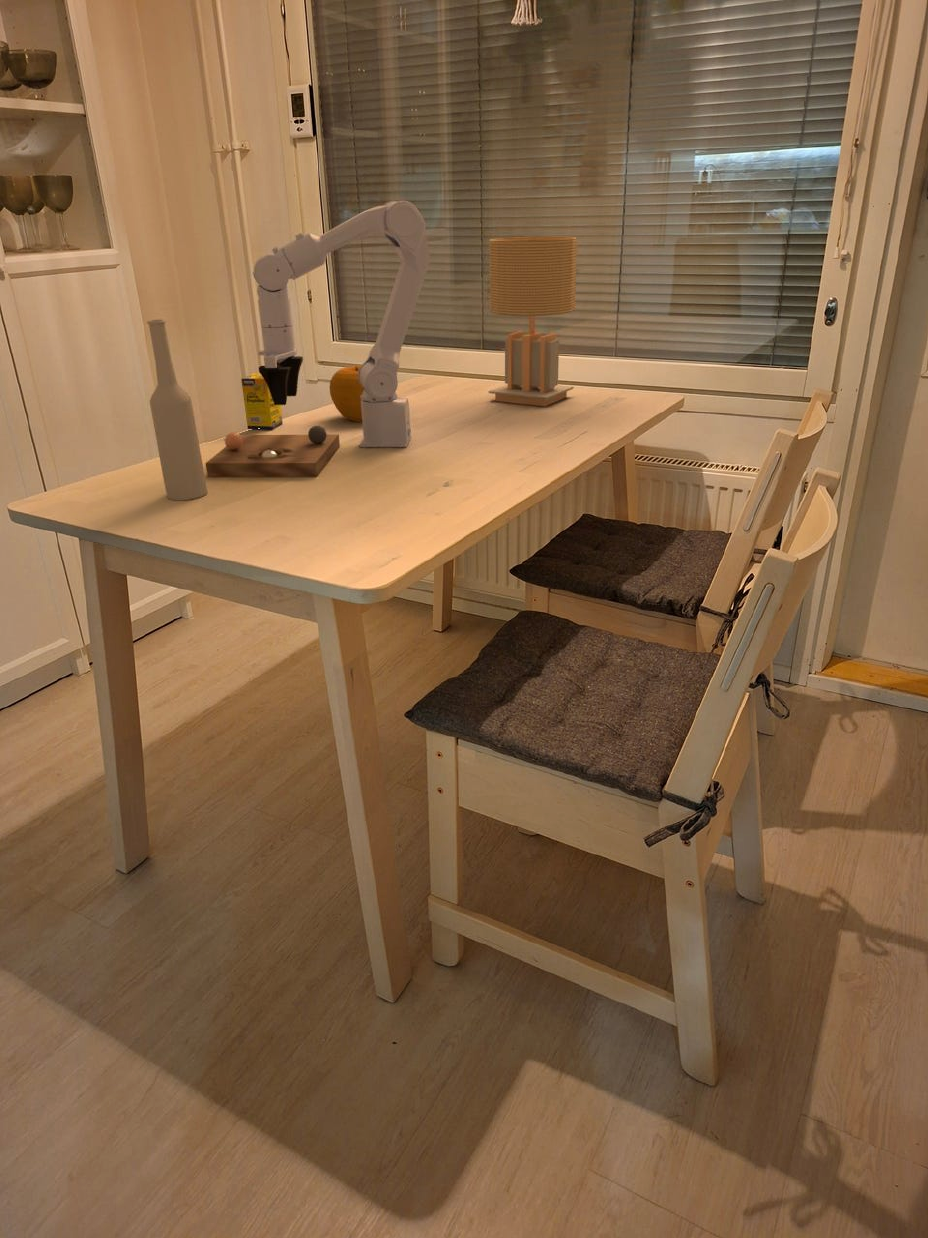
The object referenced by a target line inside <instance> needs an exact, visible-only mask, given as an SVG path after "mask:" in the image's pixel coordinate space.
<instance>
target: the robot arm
mask: <svg viewBox="0 0 928 1238" xmlns="http://www.w3.org/2000/svg"><path fill="white" fill-rule="evenodd" d="M368 235H371V236H385V237H386V238H387V239H388V240H389V242H390V243H392V244H393V247H394V249H395V251H396V253H397V255H398V257H399V258H400V265H399V269H398V272H397V275H396V278H395V281H394V284H393V287H392V290H391V293H390V297H389V301H388V302H387V306H386V308H385V313H384V316H383V318H382V321H381V324H380V327H379V331H378V334H377V337H376V341H375V344H374V345H373V346H372V347H371V350H370V351H369V353H368V357H367V358H366V360H365V361H364V362H363V363H362V364H361V365H360V366H361V367H360V369H359V372H358V379H359V382H360V384H361V385H362V387H363V388H364V391H363V393H362V395H361V396H360V398H361V411H362V422H361V423H362V435H363V437H362V439H361V440H360V442H359V444H358V446H359V447H360V448H402V447H403V448H406V447H407V446H408V444H409V442H410V440H411V438H412V435H411V434H412V433H411V419H410V416H411V415H410V403H409V400H408V398H405V397H398V394H397V392H396V391H397V390H398V384H399V383H398V382H399V381H398V371H399V367H400V353H401V350H402V347H403V344H404V342H405V338H406V335H407V332H408V329H409V326H410V323H411V320H412V317H413V314H414V311H415V309H416V305H417V302H418V299H419V296H420V293H421V290H422V287H423V284H424V280H425V277H426V275H427V272H428V268H429V266H430V261H431V255H430V251H429V245H428V238H427V233H426V222H425V220H424V218H423V217H422V214H421V213H420V211H419V210H418V208H417V207H416V206H415V205H414V203H412V202H410V201H407V200H400V201H397V200H392V201H388V202H386V203H384V204H383V205H378V206H374V207H372V208H369V209H367V210H364V211H362V212H360V213H358V214H356V215H354V216H353V217H351V218H349V219H347V220H346V221H344V222H342V223H339V224H338V225H337V226H335V227H333V228H331V229H330V230H329V231H327V232H325V233H323V234H321V235H319V236H318V235H315V234H313V233H311V232H307V233H306V234H303V233H302V232H300V233H298V234H295V236H294V237H295V239H294V240H292V241H290V242H288V243H287V244H285V245H283V246H281V247H277V246H275V247H273V248H271V251H272V253H273V254H264V255H262V256H260V257H259V258H258V259H257V260H256V261H255V263H254V266H253V271H252V275H253V279H255V281H256V282H257V284H258V285H257V289H256V293H257V296H258V299H257V304H258V305H257V306H258V312H259V320H260V327H261V335H262V343H263V349H260V350H258V351H257V355H258V356H263V362H264V365H260V366H259V367H258V373H260V374H261V375H262V377H263V378H264V380H265V382H266V384H267V386H268V388H269V391H270V394H271V397H272V399H273V402H274V404H275V405H281V406H285V405H287V401H288V397H296V396H297V394H298V383H299V382H298V381H299V374H300V370H301V366H302V364H303V360H304V357H303V356H297V354H298V352H297V348H296V342H295V335H294V333H295V332H294V326H293V325H294V324H293V318H292V317H293V316H292V306H291V299H290V298H289V291H288V283H289V280H296V279H299V278H300V277H302V276H304V275H306V274H309V273H310V272H312V271H314V270H316V269H317V268H320V267H322V266H323V265H325V263H326V259H327V256H328V254H330V253H332V252H333V251H336V250H337V249H340V248H342V247H344V246H346V245H348V244H350V243H353V242H354V241H357V240H359V239H361V238H362V237H366V236H368Z"/></svg>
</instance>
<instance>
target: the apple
mask: <svg viewBox="0 0 928 1238" xmlns="http://www.w3.org/2000/svg"><path fill="white" fill-rule="evenodd" d="M360 367H361V365H354V366H347V367H343V368H340V369H338V370H337V371H336V372H335V373H334V374H333V376H332V377H331V379H330V382H329V396H330V397H331V401H332V403H333V404H334V406H335V408H336V409H337V411H338V412H339V413H340V415H341V416H343V417H344V418H346V419H348V420H351V421H353V422H354V423H355V422H356V423H359V422H361V423H362V411H361V398H360V396H361V395H362V393H363V391H364V388H363V387H362V385H361V384H360V382H359V379H358V372H359V369H360Z"/></svg>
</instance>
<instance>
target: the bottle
mask: <svg viewBox="0 0 928 1238" xmlns="http://www.w3.org/2000/svg"><path fill="white" fill-rule="evenodd" d="M146 325H148V328H149V333H150V337H151V338H150V339H151V346H152V349H153V357H154V361H155V372H156V380H157V381H156V382H157V385H156V387H155V389H154V391H153V393H152V395H151V397H150V399H149V405H150V411H151V412H150V413H151V416H152V421H153V427H154V428H153V429H154V434H155V437H156V438H155V439H156V444H157V450H158V456H159V461H160V467H161V472H162V478H163V482H164V487H165V493H166V498H167V499H168V500H170V501H179V502H182V501H185V502H186V501H189V500H190V501H192V500H196V499H201V498H203V497H204V496H207V494H208V489H207V483H206V482H207V481H206V476H205V471H204V470H205V469H204V465H203V459H202V453H201V447H200V442H199V436H198V432H197V431H198V430H197V425H196V419H195V418H196V417H195V413H194V407H193V404H192V398H191V396H190V395H189V393H188V392H187V391H186V390H185V389H184V388H183V387H182V386H181V385H180V384H179V383H178V380H177V378H176V373H175V368H174V365H173V359H172V355H171V351H170V350H171V349H170V345H169V338H168V335H167V334H168V333H167V327H166V319H162V318H161V319H149V320H147V321H146Z"/></svg>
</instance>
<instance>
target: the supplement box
mask: <svg viewBox="0 0 928 1238" xmlns="http://www.w3.org/2000/svg"><path fill="white" fill-rule="evenodd" d="M240 382H241V389H242V396H243V403H244V411H245V416H246V417H245V419H246V424H247V430H263V431H264V430H266V431H267V430H268V431H272V430H275V428H277V427H279V426H280V425H283V415H282V413H283V412H282V405H275V404H274V402H273V399H272V397H271V394H270V391H269V388H268V386H267V384H266V382H265V380H264V378H263V377H262V375H261V374H260V372H255V373H251V374H249V375H246V376H245V377H241V378H240ZM258 428H260V429H258Z"/></svg>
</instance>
